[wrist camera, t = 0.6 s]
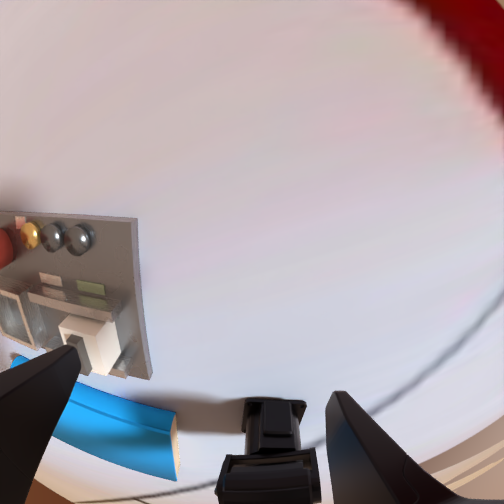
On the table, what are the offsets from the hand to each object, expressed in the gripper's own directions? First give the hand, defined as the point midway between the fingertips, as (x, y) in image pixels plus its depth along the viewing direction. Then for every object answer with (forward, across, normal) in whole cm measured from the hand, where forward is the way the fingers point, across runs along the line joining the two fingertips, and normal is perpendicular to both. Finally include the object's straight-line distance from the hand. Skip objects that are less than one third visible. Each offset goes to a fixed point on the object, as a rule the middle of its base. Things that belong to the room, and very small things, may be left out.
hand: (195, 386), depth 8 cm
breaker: (+12, +12, +9) cm, 19 cm away
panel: (+13, +17, +7) cm, 23 cm away
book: (+15, +18, +28) cm, 37 cm away
